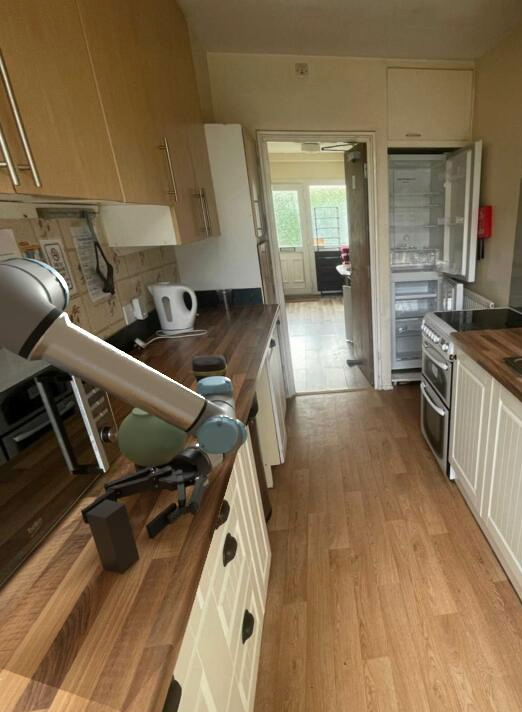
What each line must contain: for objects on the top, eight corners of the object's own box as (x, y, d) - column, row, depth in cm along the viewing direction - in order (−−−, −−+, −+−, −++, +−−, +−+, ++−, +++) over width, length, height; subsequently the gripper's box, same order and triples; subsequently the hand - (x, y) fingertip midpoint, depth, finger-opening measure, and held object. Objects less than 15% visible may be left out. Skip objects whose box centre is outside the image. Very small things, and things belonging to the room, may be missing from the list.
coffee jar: (197, 419, 129) (187, 361, 121) (201, 409, 136) (192, 353, 128) (231, 417, 131) (223, 359, 124) (233, 406, 138) (226, 351, 131)
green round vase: (113, 484, 98) (94, 417, 91) (158, 454, 110) (144, 393, 103) (165, 495, 94) (149, 426, 88) (205, 462, 107) (194, 400, 100)
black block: (103, 569, 75) (85, 513, 70) (121, 553, 78) (106, 499, 73) (121, 574, 74) (105, 518, 69) (139, 558, 77) (125, 503, 72)
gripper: (249, 486, 91) (181, 556, 72) (151, 467, 97) (64, 528, 78) (245, 456, 88) (173, 520, 69) (144, 438, 94) (53, 494, 75)
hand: (115, 524), depth 74 cm, fingers open, 13 cm apart
